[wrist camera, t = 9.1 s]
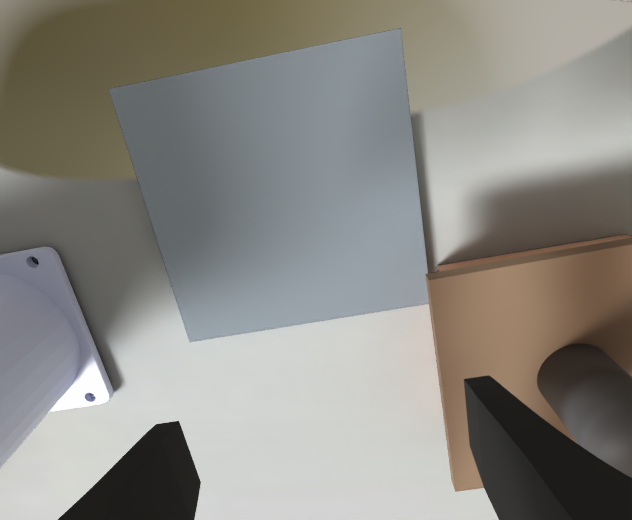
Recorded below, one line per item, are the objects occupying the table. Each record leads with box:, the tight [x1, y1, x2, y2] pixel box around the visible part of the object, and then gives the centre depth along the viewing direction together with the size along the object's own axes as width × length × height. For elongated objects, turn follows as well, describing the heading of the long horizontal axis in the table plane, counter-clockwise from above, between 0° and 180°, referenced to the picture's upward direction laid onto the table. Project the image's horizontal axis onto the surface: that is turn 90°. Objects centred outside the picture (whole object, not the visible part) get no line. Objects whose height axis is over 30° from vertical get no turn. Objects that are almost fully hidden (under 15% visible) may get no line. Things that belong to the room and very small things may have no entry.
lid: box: [425, 237, 632, 492], centre depth 16 cm, size 10×10×5 cm
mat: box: [108, 28, 429, 342], centre depth 19 cm, size 11×11×1 cm
